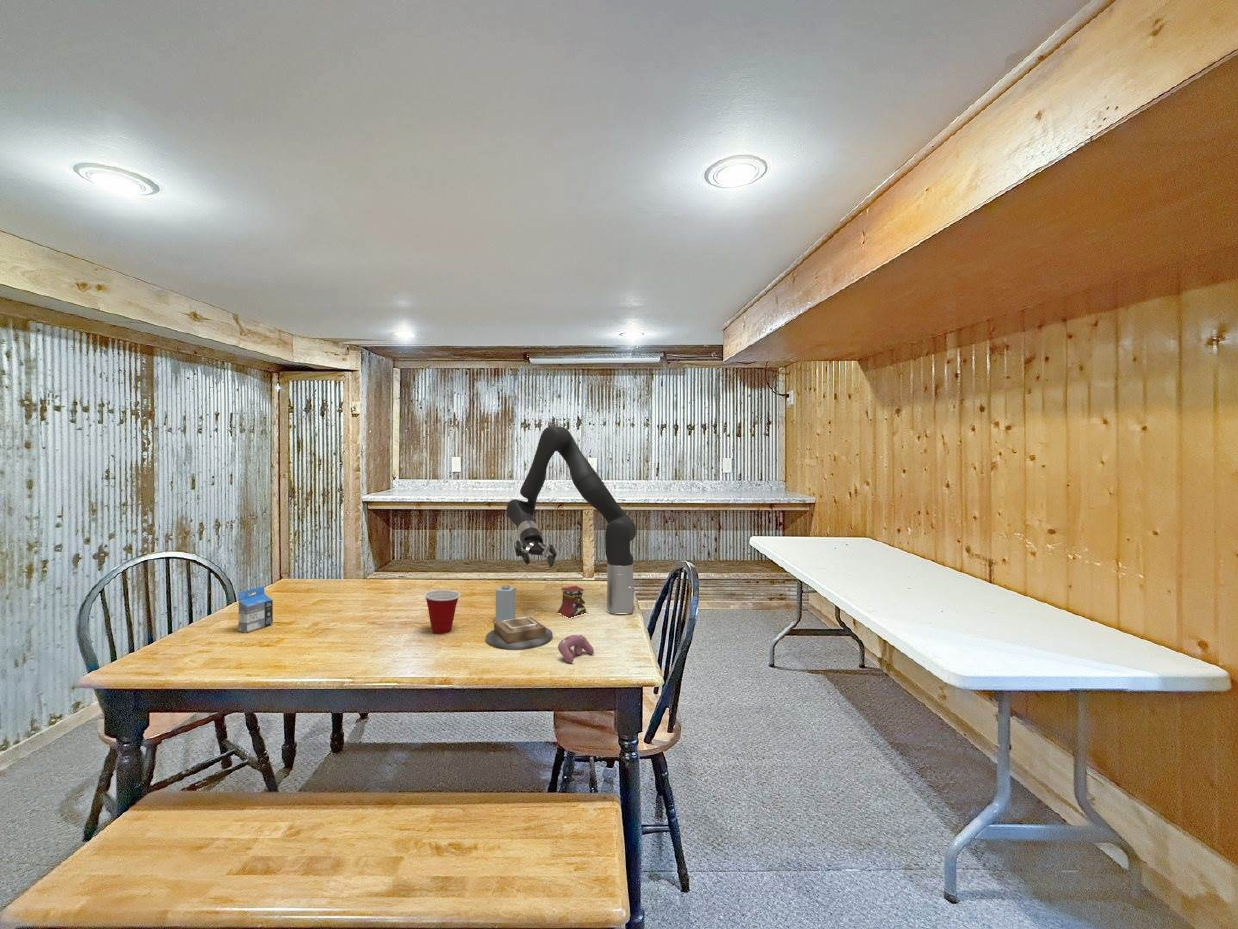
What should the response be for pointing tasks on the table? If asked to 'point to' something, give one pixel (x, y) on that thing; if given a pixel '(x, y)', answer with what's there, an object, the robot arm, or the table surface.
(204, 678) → the table surface
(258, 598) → the ink cartridge box
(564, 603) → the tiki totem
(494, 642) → the tower base
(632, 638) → the table surface
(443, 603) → the plastic cup
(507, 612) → the slate block
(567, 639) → the purple curved piece
